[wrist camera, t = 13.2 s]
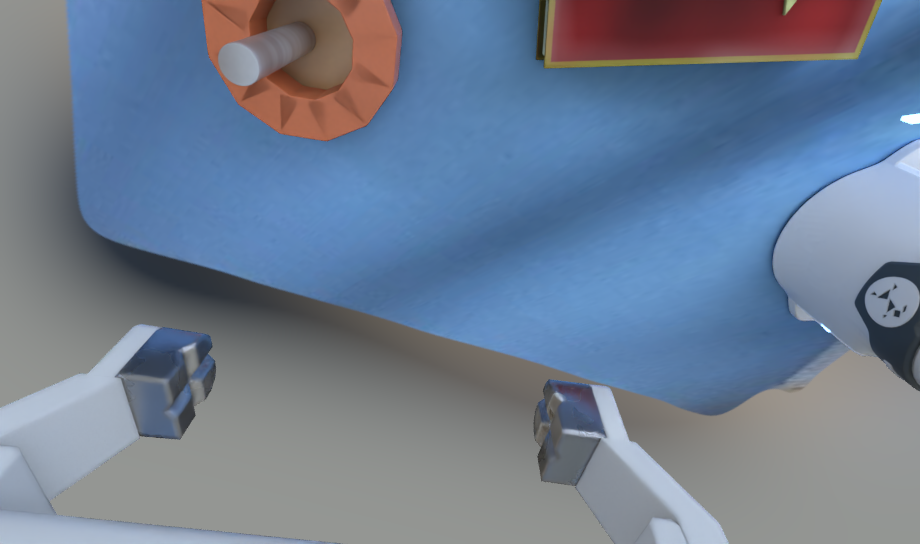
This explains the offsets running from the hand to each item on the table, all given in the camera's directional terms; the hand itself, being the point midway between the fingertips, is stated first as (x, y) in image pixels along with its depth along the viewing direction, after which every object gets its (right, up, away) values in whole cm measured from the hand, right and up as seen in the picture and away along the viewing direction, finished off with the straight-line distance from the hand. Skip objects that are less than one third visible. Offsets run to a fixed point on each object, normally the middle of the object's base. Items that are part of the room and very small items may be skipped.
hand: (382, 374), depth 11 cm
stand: (-9, +20, +22) cm, 31 cm away
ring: (-8, +19, +21) cm, 29 cm away
